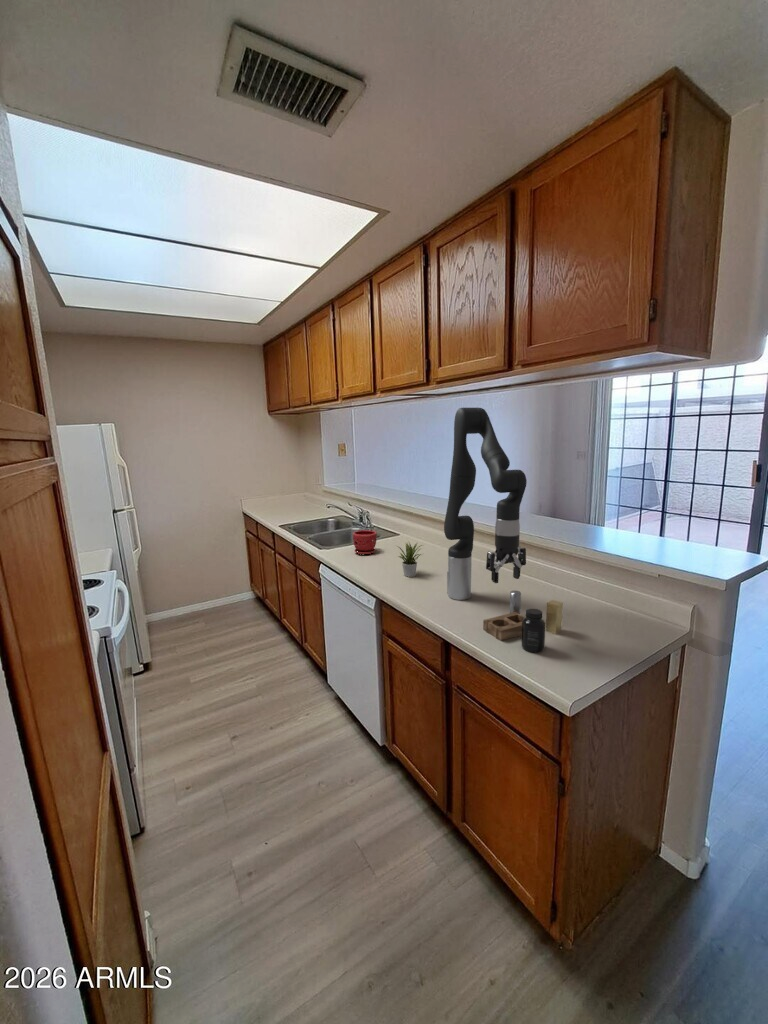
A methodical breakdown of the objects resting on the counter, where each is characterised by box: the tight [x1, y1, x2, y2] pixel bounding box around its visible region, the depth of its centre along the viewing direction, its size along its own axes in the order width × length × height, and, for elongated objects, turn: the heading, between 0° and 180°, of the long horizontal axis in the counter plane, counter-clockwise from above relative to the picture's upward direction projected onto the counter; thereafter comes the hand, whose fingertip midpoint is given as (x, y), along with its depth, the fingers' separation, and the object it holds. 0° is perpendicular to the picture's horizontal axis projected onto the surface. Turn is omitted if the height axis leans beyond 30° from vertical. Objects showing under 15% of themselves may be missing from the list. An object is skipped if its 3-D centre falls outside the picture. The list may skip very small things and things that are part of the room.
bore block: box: [482, 612, 526, 642], centre depth 143 cm, size 9×14×4 cm, turn 115°
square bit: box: [545, 599, 564, 635], centre depth 142 cm, size 4×4×10 cm
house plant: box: [396, 540, 425, 578], centre depth 199 cm, size 14×14×16 cm
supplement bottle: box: [520, 608, 546, 653], centre depth 131 cm, size 7×7×12 cm
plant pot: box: [352, 530, 378, 555], centre depth 238 cm, size 13×13×12 cm
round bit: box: [509, 590, 522, 614], centre depth 151 cm, size 4×4×10 cm
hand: (505, 580), depth 140 cm, fingers open, 8 cm apart
